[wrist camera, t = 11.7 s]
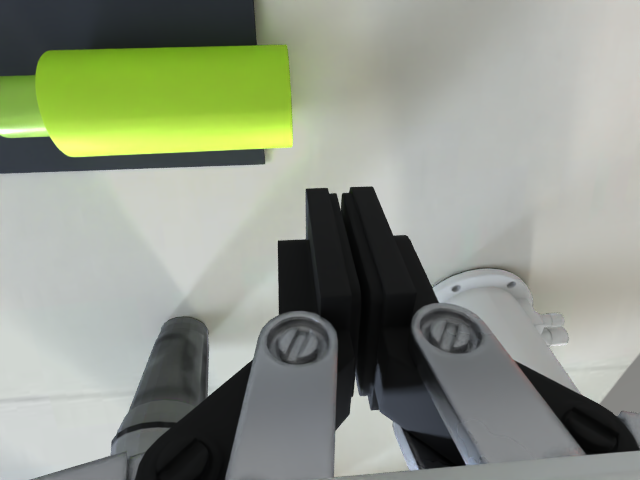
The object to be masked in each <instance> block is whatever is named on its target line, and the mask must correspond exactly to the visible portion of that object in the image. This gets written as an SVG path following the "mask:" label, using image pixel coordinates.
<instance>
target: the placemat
mask: <svg viewBox="0 0 640 480" xmlns="http://www.w3.org/2000/svg"><path fill="white" fill-rule="evenodd" d="M252 45H257V43H256V29H255V15H254V1H253V0H0V76H27V75H36V68H37V64H38V61H39V59H40V57H41V56H42V55H43V54H44V53H45V52H47V51H50V50H86V49H127V48H169V47H211V46H252ZM258 164H265V155H264V149H243V150H220V151H198V152H176V153H154V154H132V155H109V156H87V157H71V156H68V155H66V154H64V153H63V152H62V151H61V150H60V149H59V148H58V147H57V146H56V145H55V143H54V142H53V141H52V139H51V137H50V136H47V137H23V138H6V137H3V136H1V135H0V174H3V173H31V172H59V171H88V170H116V169H145V168H173V167H201V166H230V165H258Z"/></svg>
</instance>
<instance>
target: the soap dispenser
mask: <svg viewBox="0 0 640 480" xmlns="http://www.w3.org/2000/svg"><path fill="white" fill-rule="evenodd" d="M0 135H1V136H3V137H6V138H23V137H47V136H50V137H51V139H52V141H53V142H54V143H55V145H56V146H57V147H58V148H59V149H60V150H61V151H62V152H63V153H64V154H66V155H68V156H71V157H87V156H109V155H132V154H154V153H176V152H198V151H220V150H243V149H265V148H287V147H292V145H293V129H292V104H291V85H290V70H289V58H288V48H287V45H252V46H211V47H169V48H127V49H86V50H50V51H47V52H45V53H44V54H43V55H42V56H41V57H40V59H39V61H38V64H37V68H36V75H27V76H0Z"/></svg>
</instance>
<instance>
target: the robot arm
mask: <svg viewBox="0 0 640 480" xmlns="http://www.w3.org/2000/svg"><path fill="white" fill-rule="evenodd" d="M278 282H279V315H278V316H276V317H275V318H273V319H271V320H270V321H269V322H268V323H267V324H266V325H265V326H264V327H263V328H262V330H261V332H260V335H259V337H258V341H257V345H256V350H255V354H254V358H253V360H252V361H251V362H249V363H248V364H247V365H246V366H244V367H243V368H242V369H241V370H240V371H238V372H237V373H236V374H235V375H234V376H232V377H231V378H230V379H229V380H228V381H226V382H225V383H224V384H223V385H222V386H220V387H219V388H218V389H217V390H216V391H214V392H213V393H212V394H211V395H210V396H208V397H207V398H206V399H205V400H204V401H202V402H201V403H200V404H199V405H198V406H196V407H195V408H194V409H193V410H192V411H190V412H189V413H188V414H187V415H186V416H184V417H183V418H182V419H181V420H179V421H178V422H177V423H176V424H175V425H173V426H172V427H171V428H170V429H169V430H167V431H166V432H165V433H164V434H163V435H161V436H160V437H159V438H158V439H157V440H156V441H155V442H154V443H153V444H152V445H151V446H150V447H149V448H148V449H147V451H146V452H142V453H139V454H136V455H132V456H129V454H128V452H127V451H125V452H122V453H118V454H115V455H112V456H108V457H105V458H102V459H98V460H95V461H92V462H88V463H85V464H81V465H78V466H75V467H71V468H68V469H65V470H61V471H58V472H54V473H51V474H48V475H44V476H41V477H38V478H34V479H31V480H640V413H634V412H627V411H621V412H620V414H619V415H618V416H615V415H614V414H613V413H612V412H610V411H609V410H607V409H606V408H604V407H603V406H601V405H600V404H598V403H596V402H594V401H592V400H590V399H588V398H587V397H585V396H583V395H581V393H580V392H579V390H578V389H577V387H576V386H575V384H574V383H573V381H572V380H571V379H570V377H569V376H568V374H567V373H566V371H565V370H564V368H563V367H562V365H561V364H560V362H559V361H558V360H557V358H556V357H555V355H554V354H553V352H552V351H551V349H550V348H549V346H558V345H566V344H567V343H568V340H569V337H568V333H567V331H566V329H565V328H564V327H561V326H563V325H564V322H565V321H564V317H563V315H562V314H561V313H548V314H543V315H540V314H539V313H538V312H536V311H535V310H534V308H533V297H532V294H531V291H530V290H529V288H528V287H527V286H526V284H525V283H524V282H523V281H522V280H521V279H520V278H519V277H518V276H516V275H515V274H513V273H511V272H508V271H504V270H501V269H491V268H488V269H476V270H471V271H466V272H463V273H460V274H457V275H454V276H452V277H450V278H448V279H446V280H444V281H442V282H440V283H439V284H437V285H436V286H435V287H433V288H432V286H431V284H430V282H429V280H428V278H427V275H426V273H425V271H424V269H423V267H422V265H421V263H420V260H419V258H418V256H417V254H416V252H415V250H414V247H413V245H412V243H411V241H410V239H409V238H408V236H406V235H397V236H393V234H392V231H391V229H390V227H389V224H388V222H387V219H386V217H385V215H384V212H383V210H382V207H381V205H380V202H379V200H378V198H377V195H376V193H375V190H374V188H373V187H351V188H350V191H349V193H342V200H341V210H340V206H339V202H338V198H337V194H336V193H333V194H329V191H328V188H313V189H306V239H305V240H282V241H278ZM355 376H356V381H357V386H358V391H359V395H360V396H367V395H368V400H369V404H370V409H371V410H380V412H381V413H382V414H384V415H385V416H387V417H388V418H389V419H391V420H392V421H393V429H394V433H395V436H396V439H397V441H398V444H399V446H400V448H401V451H402V453H403V456H404V458H405V461H406V463H407V466H408V468H409V471H400V472H389V473H378V474H367V475H355V476H345V477H334V452H335V431H336V430H337V428H338V427H339V426H340V425H341V424H342V422H343V421H344V420H345V419H346V418H347V417H348V415H349V414H350V403H351V397H353V393H354V382H355Z"/></svg>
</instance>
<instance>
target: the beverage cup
mask: <svg viewBox="0 0 640 480" xmlns="http://www.w3.org/2000/svg"><path fill="white" fill-rule="evenodd" d="M208 334H209V333H208V329H207V327H206V326H205V325H204V324H203V323H202V322H200V321H199V320H196V319H193V318H189V317H177V318H174V319H171V320H169V321H167V322H166V323H164V325H163V326H162V328H161V332H160V334H159V336H158V338H157V339H156V342H155V344H154V347H153V349H152V352H151V355H150V357H149V360H148V362H147V365H146V368H145V370H144V373H143V375H142V378H141V381H140V383H139V386H138V388H137V391H136V394H135V396H134V399H133V401H132V404H131V407H130V409H129V412H128V414H127V415H126V416H125V418H124V420H123V422H122V424H121V426H120V428H119V429H118V432H117V434H116V436H115V437H114V439H113V440H112V444H111V456H112V455H115V454H118V453H122V452H125V451H127V452H128V454H129V456H132V455H136V454H139V453H142V452H146V451H147V449H148V448H149V447H150V446H151V445H152V444H153V443H154V442H155V441H156V440H157V439H158V438H159V437H160V436H161V435H163V434H164V433H165V432H166V431H167V430H169V429H170V428H171V427H172V426H173V425H175V424H176V423H177V422H178V421H179V420H181V419H182V418H183V417H184V416H186V415H187V414H188V413H189V412H190V411H192V410H193V409H194V408H195V407H196V406H198V405H199V404H200V403H201V402H202V401H204V400H205V399H206V398H207V397H208V361H209V344H208Z"/></svg>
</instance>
